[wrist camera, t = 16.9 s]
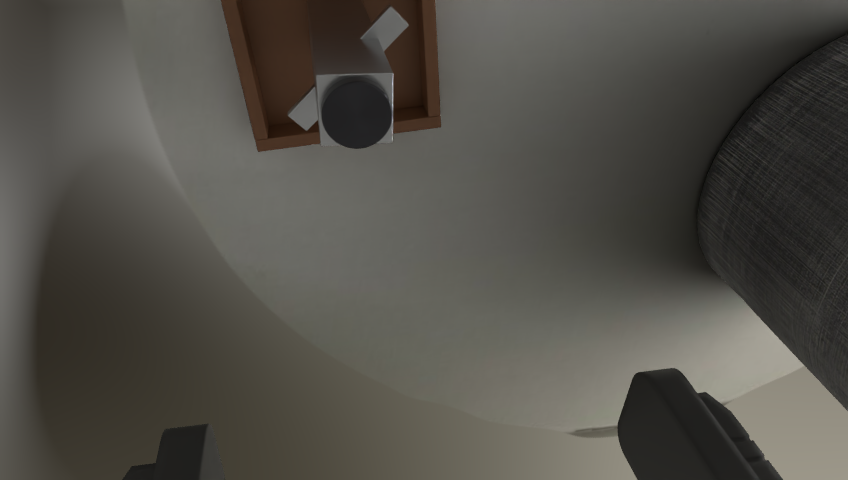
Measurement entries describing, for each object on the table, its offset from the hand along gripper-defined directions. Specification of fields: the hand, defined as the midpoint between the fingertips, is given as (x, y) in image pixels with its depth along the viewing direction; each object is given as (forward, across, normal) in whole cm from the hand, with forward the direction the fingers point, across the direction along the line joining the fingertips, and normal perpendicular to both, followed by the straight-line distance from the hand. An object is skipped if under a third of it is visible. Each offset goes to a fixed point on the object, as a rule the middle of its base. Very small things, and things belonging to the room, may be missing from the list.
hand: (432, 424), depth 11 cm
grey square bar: (+30, 0, 0) cm, 30 cm away
